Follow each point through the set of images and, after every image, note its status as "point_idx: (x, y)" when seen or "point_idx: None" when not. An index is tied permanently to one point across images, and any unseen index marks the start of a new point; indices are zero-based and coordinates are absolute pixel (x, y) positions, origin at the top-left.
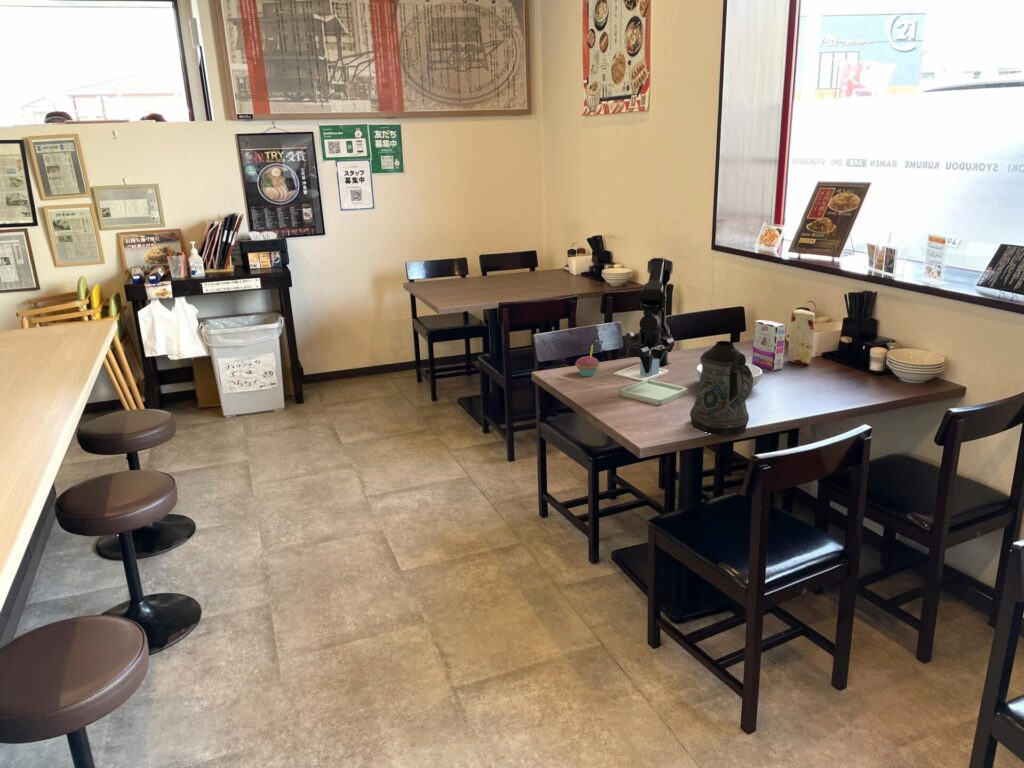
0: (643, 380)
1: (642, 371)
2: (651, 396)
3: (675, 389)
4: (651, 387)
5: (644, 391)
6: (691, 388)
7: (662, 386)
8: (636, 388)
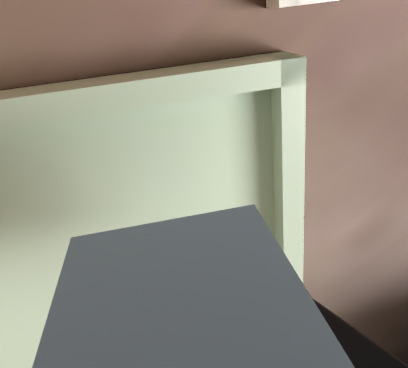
0: (278, 4)
1: (66, 269)
2: (12, 348)
3: None
4: (177, 200)
5: (44, 242)
6: (379, 315)
7: None
8: (37, 136)
